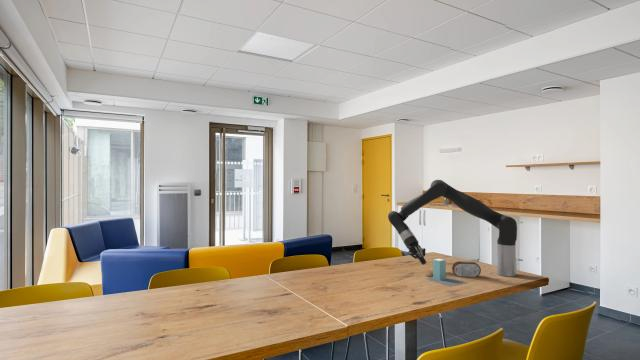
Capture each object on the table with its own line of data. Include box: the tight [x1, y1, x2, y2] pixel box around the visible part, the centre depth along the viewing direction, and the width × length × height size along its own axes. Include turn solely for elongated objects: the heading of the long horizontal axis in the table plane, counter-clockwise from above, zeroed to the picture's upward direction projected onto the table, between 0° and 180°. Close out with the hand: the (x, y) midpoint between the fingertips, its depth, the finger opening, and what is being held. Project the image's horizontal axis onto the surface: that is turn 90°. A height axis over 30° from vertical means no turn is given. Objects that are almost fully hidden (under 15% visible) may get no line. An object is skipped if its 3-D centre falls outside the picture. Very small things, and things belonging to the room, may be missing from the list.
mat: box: [425, 276, 469, 287], centre depth 191 cm, size 14×17×1 cm
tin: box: [451, 261, 482, 278], centre depth 201 cm, size 15×3×8 cm, turn 84°
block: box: [432, 258, 447, 280], centre depth 195 cm, size 4×4×10 cm
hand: (424, 263), depth 204 cm, fingers closed
